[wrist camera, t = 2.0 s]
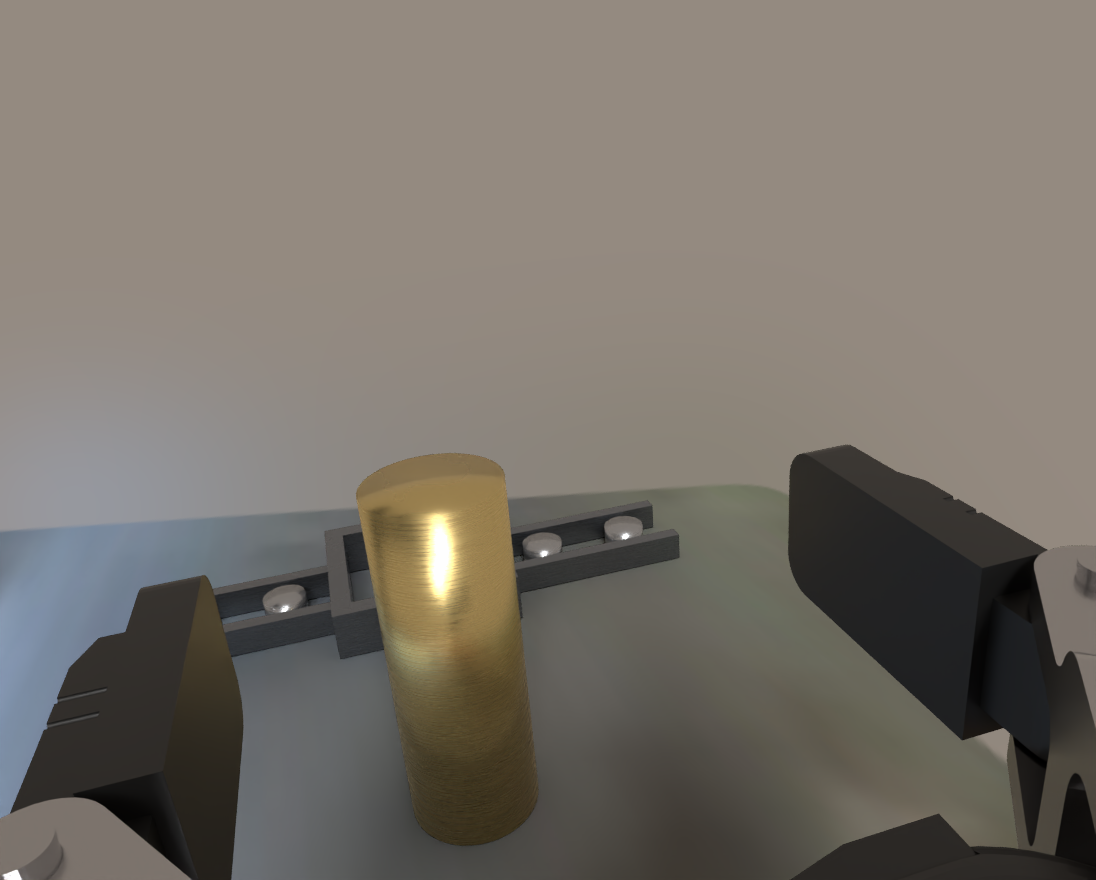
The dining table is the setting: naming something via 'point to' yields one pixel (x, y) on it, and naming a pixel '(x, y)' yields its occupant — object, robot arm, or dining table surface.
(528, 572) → the ball bearing track
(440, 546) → the brass pin
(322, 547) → the dining table surface
